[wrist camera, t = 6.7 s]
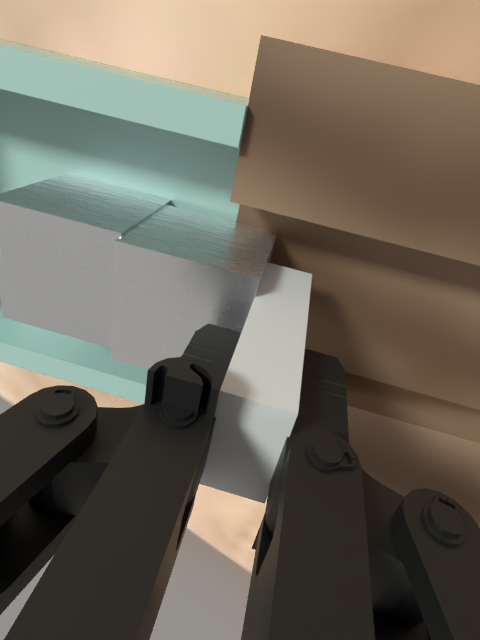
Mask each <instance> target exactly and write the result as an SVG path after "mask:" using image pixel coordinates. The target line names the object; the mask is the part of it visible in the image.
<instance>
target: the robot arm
mask: <svg viewBox="0 0 480 640" xmlns="http://www.w3.org/2000/svg"><path fill="white" fill-rule="evenodd" d="M311 281H312V274H310V273H307V272H303V271H299V270H295V269H291V268H287V267H284V266H280V265H276V264H272V263H268V265H267V267H266V270H265V273H264V275H263V278H262V281H261V283H260V286H259V289H258V291H257V294H256V297H255V298H254V300H253V303H252V306H251V308H250V311H249V314H248V316H247V319H246V322H245V324H244V327H243V330H242V332H238V331H234V330H231V329H227V328H223V327H220V326H216V325H213V324H209V323H208V324H207V325H205V326H203V327H202V328H200V329H198V330H197V331H195V333H194V335H193V337H192V338H191V340H190V342H189V345H187V347H186V349H185V351H184V353H183V354H182V356H181V357H175V358H166V359H164V360H161V361H159V362H156V363H155V364H154V365H153V366H152V367H150V368H149V369H148V372H147V382H146V393H145V403H144V404H143V405H140V406H135V407H130V408H104V407H98V406H97V404H96V401H95V399H94V397H93V396H92V395H91V394H89V393H88V392H87V391H86V390H83V389H80V388H77V387H74V386H59V385H58V386H53V387H48V388H43V389H41V390H39V391H37V392H35V393H33V394H31V395H29V396H28V397H26V398H25V399H23V400H22V401H20V402H19V403H17V404H16V405H14V406H13V407H11V408H10V409H8V410H7V411H5V412H4V413H2V414H1V415H0V615H1V614H2V612H3V611H4V610H5V609H6V608H7V607H8V606H9V604H10V603H11V602H12V601H13V600H14V599H15V598H16V596H18V595H19V593H20V592H21V591H22V590H23V589H24V588H25V587H26V586H27V584H28V583H29V582H30V581H31V580H32V579H33V578H34V577H35V576H36V574H37V573H38V572H39V571H40V570H41V569H42V568H43V567H44V565H45V564H46V563H47V562H48V561H49V560H50V559H51V558H52V557H53V555H54V554H55V555H54V557H53V558H52V560H51V562H50V563H49V565H48V567H47V568H46V570H45V572H44V573H43V575H42V577H41V578H40V580H39V582H38V583H37V585H36V587H35V588H34V590H33V592H32V594H31V595H30V597H29V599H28V600H27V602H26V604H25V605H24V607H23V609H22V610H21V612H20V614H19V615H18V617H17V619H16V620H15V622H14V624H13V626H12V627H11V629H10V631H9V632H8V634H7V636H6V637H5V639H4V640H149V639H150V636H151V633H152V630H153V627H154V624H155V621H156V618H157V615H158V612H159V609H160V605H161V603H162V599H163V597H164V593H165V591H166V587H167V584H168V581H169V578H170V575H171V572H172V569H173V566H174V563H175V560H176V557H177V554H178V551H179V548H180V545H181V541H182V539H183V536H184V533H185V530H186V527H187V524H188V521H189V518H190V515H191V512H192V509H193V505H194V500H195V496H196V492H197V489H198V486H199V484H202V485H206V486H209V487H212V488H215V489H219V490H222V491H225V492H229V493H232V494H235V495H239V496H242V497H245V498H248V499H252V500H255V501H258V502H262V503H265V501H266V499H267V496H268V499H267V505H266V512H265V515H264V517H263V520H262V523H261V525H260V528H259V531H258V533H257V536H256V538H255V541H254V544H253V546H252V549H255V550H256V552H255V558H254V564H253V570H252V576H251V583H250V589H249V595H248V601H247V607H246V613H245V619H244V625H243V631H242V637H241V640H480V527H479V526H478V524H477V523H476V522H475V520H474V519H473V518H472V516H471V515H470V514H469V512H468V511H466V510H465V509H464V508H463V507H462V506H461V505H460V504H459V503H457V502H456V501H455V500H453V499H452V498H450V497H448V496H446V495H445V494H443V493H441V492H438V491H434V490H431V489H427V488H423V489H414V490H412V491H411V492H410V493H409V494H407V495H406V496H405V497H404V496H402V495H400V494H399V493H397V492H395V491H393V490H392V489H390V488H388V487H386V486H385V485H383V484H381V483H380V482H378V481H377V480H375V479H374V478H372V477H371V476H370V475H369V474H367V473H366V472H365V471H364V470H363V469H362V468H361V464H360V461H359V458H358V455H357V454H356V452H355V451H354V450H353V448H352V447H351V446H350V444H349V431H348V412H347V399H346V397H347V394H346V375H345V370H344V368H343V367H342V365H341V363H340V362H339V360H338V358H337V357H334V356H330V355H327V354H323V353H319V352H316V351H312V350H308V349H305V341H306V331H307V321H308V311H309V301H310V291H311Z"/></svg>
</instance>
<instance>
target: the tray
mask: <svg viewBox="0 0 480 640" xmlns="http://www.w3.org/2000/svg"><path fill="white" fill-rule="evenodd" d="M248 103H249V99H246V98H242V97H238V96H234V95H230V94H226V93H221V92H217V91H213V90H209V89H205V88H201V87H196V86H192V85H188V84H184V83H180V82H176V81H171V80H167V79H163V78H159V77H155V76H151V75H146V74H142V73H138V72H134V71H130V70H126V69H121V68H117V67H113V66H109V65H105V64H101V63H96V62H92V61H88V60H84V59H80V58H76V57H71V56H67V55H63V54H59V53H55V52H51V51H46V50H42V49H38V48H34V47H30V46H26V45H21V44H17V43H13V42H9V41H5V40H1V39H0V193H4V192H7V191H10V190H13V189H17V188H20V187H23V186H27V185H30V184H33V183H37V182H40V181H43V180H46V179H50V178H53V177H56V176H60V175H63V174H66V173H68V174H72V175H76V176H80V177H84V178H88V179H91V180H95V181H99V182H103V183H107V184H111V185H115V186H119V187H123V188H127V189H131V190H135V191H138V192H142V193H146V194H150V195H154V196H158V197H162V198H166V199H170V200H171V206H174V207H178V208H182V209H186V210H190V211H194V212H198V213H202V214H205V215H209V216H213V217H217V218H221V219H225V220H229V221H233V222H236V220H237V215H238V210H239V205H240V204H238V203H234V202H230V200H231V194H232V189H233V184H234V178H235V173H236V167H237V162H238V157H239V151H240V146H241V141H242V135H243V130H244V125H245V119H246V114H247V108H248ZM0 361H1V362H4V363H7V364H11V365H14V366H17V367H21V368H24V369H28V370H31V371H34V372H38V373H41V374H44V375H48V376H51V377H55V378H58V379H61V380H65V381H68V382H71V383H75V384H78V385H82V386H85V387H88V388H92V389H95V390H98V391H102V392H105V393H108V394H112V395H115V396H119V397H122V398H125V399H129V400H132V401H135V402H139V403H142V404H144V403H145V393H146V382H147V372H148V369H145V368H141V367H138V366H135V365H131V364H128V363H124V362H121V361H117V360H114V359H111V348H108V347H104V346H101V345H97V344H94V343H90V342H87V341H83V340H80V339H76V338H73V337H69V336H66V335H62V334H59V333H55V332H52V331H48V330H45V329H41V328H38V327H35V326H31V325H28V324H24V323H21V322H17V321H14V320H10V319H7V318H3V315H2V308H1V300H0Z"/></svg>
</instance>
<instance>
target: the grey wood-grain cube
mask: <svg viewBox="0 0 480 640" xmlns="http://www.w3.org/2000/svg"><path fill="white" fill-rule="evenodd" d="M276 237H277V233H276V232H272V231H268V230H264V229H260V228H256V227H252V226H248V225H244V224H241V223H237V222H233V221H229V220H225V219H221V218H217V217H213V216H209V215H205V214H202V213H198V212H194V211H190V210H186V209H182V208H178V207H174V206H170V205H166V206H164V207H163V208H161V209H160V210H159V211H157V212H156V213H154V214H153V215H151V216H150V217H148V218H147V219H145V220H144V221H142V222H141V223H139V224H138V225H136V226H135V227H133V228H132V229H131V230H129V231H128V232H126V233H125V234H123V235H122V236H120V237H119V238H117V239H116V240H114V269H113V300H112V332H111V359H114V360H117V361H121V362H124V363H128V364H131V365H135V366H138V367H141V368H145V369H149V368H150V367H152V366H153V365H154V364H155V363H156V362H159V361H161V360H164V359H166V358H175V357H181V356H182V354H183V353H184V351H185V349H186V347H187V345H189V342H190V340H191V338H192V337H193V335H194V333H195V331H197V330H198V329H200V328H202V327H203V326H205V325H207V324H208V323H209V324H213V325H216V326H220V327H223V328H227V329H231V330H234V331H238V332H242V330H243V327H244V324H245V322H246V319H247V316H248V314H249V311H250V308H251V306H252V303H253V300H254V298H255V297H256V294H257V291H258V289H259V286H260V283H261V281H262V278H263V275H264V273H265V270H266V267H267V265H268V263H270V261H271V257H272V253H273V249H274V245H275V241H276Z"/></svg>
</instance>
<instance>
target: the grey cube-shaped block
mask: <svg viewBox="0 0 480 640" xmlns="http://www.w3.org/2000/svg"><path fill="white" fill-rule="evenodd" d="M166 205H170V206H171V200H170V199H166V198H162V197H158V196H154V195H150V194H146V193H142V192H138V191H135V190H131V189H127V188H123V187H119V186H115V185H111V184H107V183H103V182H99V181H95V180H91V179H88V178H84V177H80V176H76V175H72V174H68V173H66V174H63V175H60V176H56V177H53V178H50V179H46V180H43V181H40V182H37V183H33V184H30V185H27V186H23V187H20V188H17V189H13V190H10V191H7V192H4V193H0V300H1V308H2V315H3V318H7V319H10V320H14V321H17V322H21V323H24V324H28V325H31V326H35V327H38V328H41V329H45V330H48V331H52V332H55V333H59V334H62V335H66V336H69V337H73V338H76V339H80V340H83V341H87V342H90V343H94V344H97V345H101V346H104V347H108V348H111V332H112V300H113V269H114V240H116V239H117V238H119V237H120V236H122V235H123V234H125V233H126V232H128V231H129V230H131V229H132V228H133V227H135V226H136V225H138V224H139V223H141V222H142V221H144V220H145V219H147V218H148V217H150V216H151V215H153V214H154V213H156V212H157V211H159V210H160V209H161V208H163V207H164V206H166Z"/></svg>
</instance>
